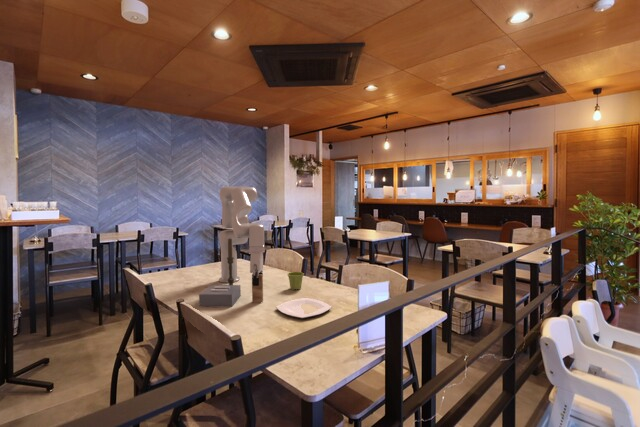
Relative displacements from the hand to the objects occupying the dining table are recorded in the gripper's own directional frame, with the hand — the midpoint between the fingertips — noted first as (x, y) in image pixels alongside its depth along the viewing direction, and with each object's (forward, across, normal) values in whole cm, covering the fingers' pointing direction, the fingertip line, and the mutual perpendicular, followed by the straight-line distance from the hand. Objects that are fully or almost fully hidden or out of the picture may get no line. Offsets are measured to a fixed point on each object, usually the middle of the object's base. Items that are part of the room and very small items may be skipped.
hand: (257, 283), depth 169 cm
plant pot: (+10, -24, +17) cm, 30 cm away
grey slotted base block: (+10, -2, -19) cm, 22 cm away
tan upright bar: (+10, 0, 0) cm, 10 cm away
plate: (+11, +10, +24) cm, 28 cm away
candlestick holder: (+10, -20, -19) cm, 29 cm away
